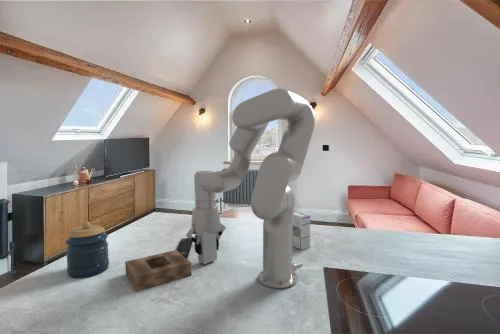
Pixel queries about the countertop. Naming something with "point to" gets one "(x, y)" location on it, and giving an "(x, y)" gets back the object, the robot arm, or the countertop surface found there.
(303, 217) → the syrup box
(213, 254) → the skincare box
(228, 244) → the countertop surface
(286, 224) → the robot arm
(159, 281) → the frame
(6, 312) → the countertop surface
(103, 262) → the canister
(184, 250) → the remote control
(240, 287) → the countertop surface
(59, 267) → the countertop surface
